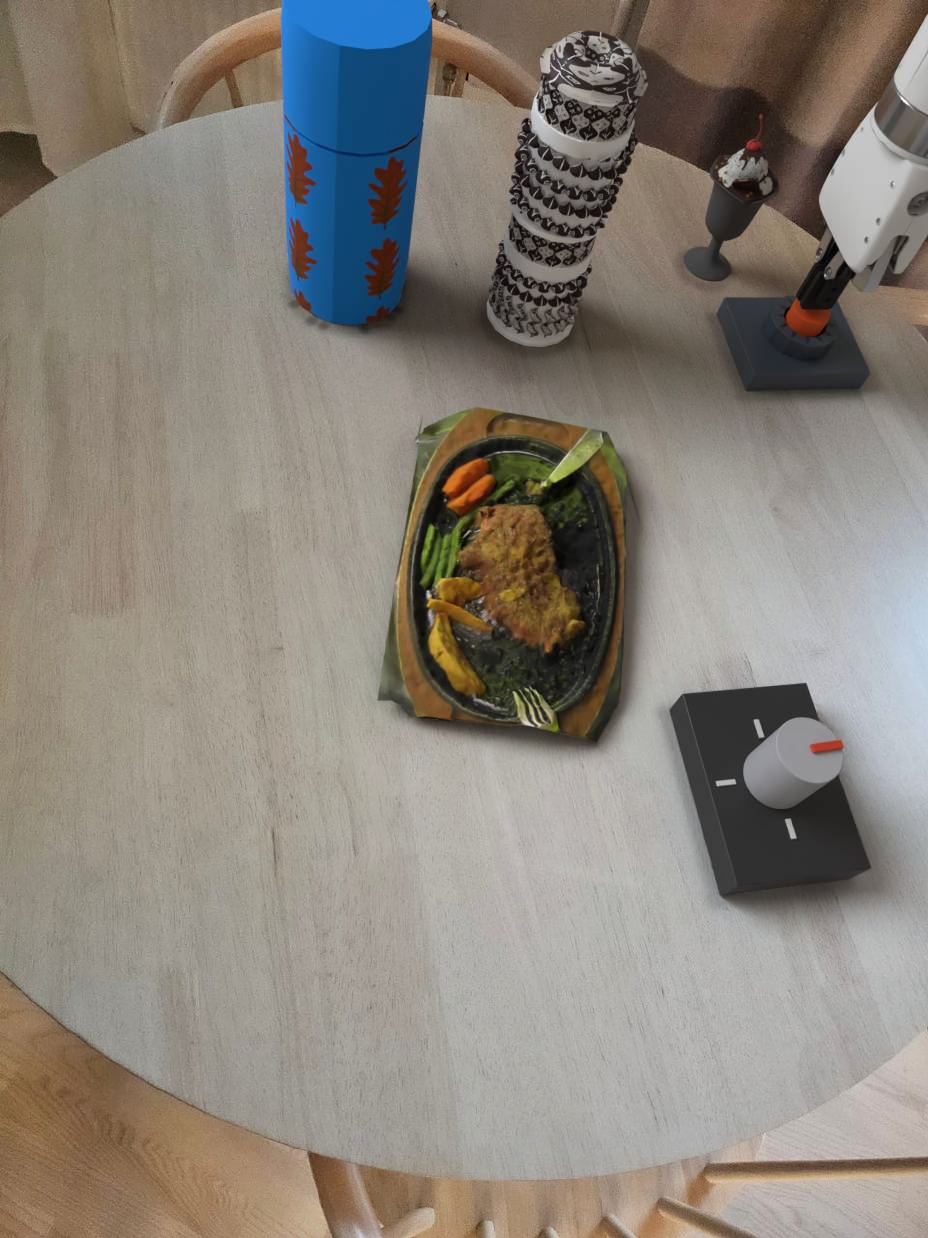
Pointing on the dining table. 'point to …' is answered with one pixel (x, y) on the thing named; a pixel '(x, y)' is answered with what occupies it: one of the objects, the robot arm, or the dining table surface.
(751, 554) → the dining table surface
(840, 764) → the knob
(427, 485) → the prepared meal
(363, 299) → the thermos
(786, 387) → the switch block
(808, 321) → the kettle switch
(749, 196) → the sundae
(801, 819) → the dial panel
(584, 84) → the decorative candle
